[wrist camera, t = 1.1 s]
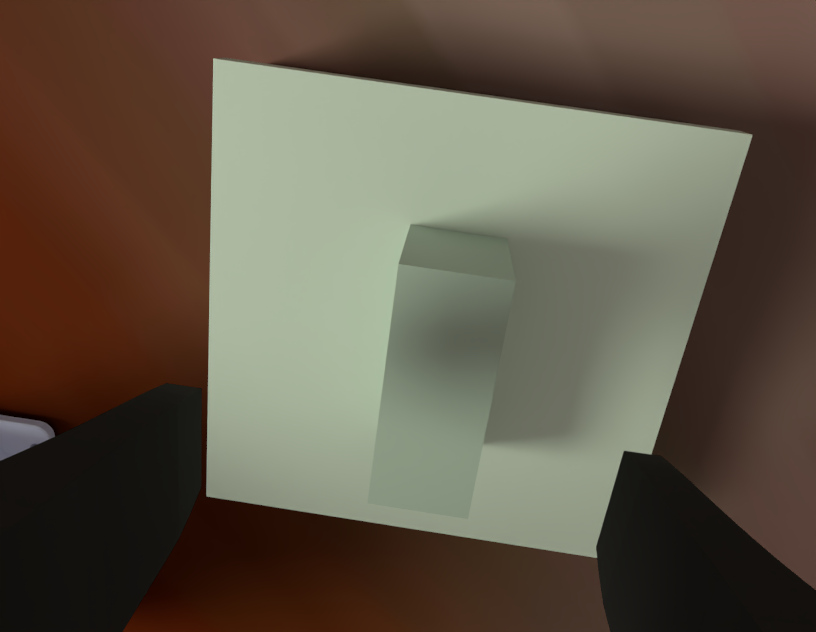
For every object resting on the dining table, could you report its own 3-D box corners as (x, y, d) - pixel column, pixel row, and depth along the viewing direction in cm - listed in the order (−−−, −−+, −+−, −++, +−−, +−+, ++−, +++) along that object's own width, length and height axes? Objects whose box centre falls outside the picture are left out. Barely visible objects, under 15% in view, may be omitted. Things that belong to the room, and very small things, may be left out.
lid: (605, 521, 22) (643, 651, 17) (225, 461, 22) (162, 573, 17) (724, 125, 17) (821, 157, 12) (238, 56, 17) (154, 62, 13)
